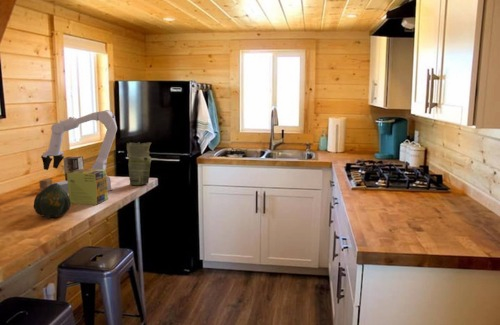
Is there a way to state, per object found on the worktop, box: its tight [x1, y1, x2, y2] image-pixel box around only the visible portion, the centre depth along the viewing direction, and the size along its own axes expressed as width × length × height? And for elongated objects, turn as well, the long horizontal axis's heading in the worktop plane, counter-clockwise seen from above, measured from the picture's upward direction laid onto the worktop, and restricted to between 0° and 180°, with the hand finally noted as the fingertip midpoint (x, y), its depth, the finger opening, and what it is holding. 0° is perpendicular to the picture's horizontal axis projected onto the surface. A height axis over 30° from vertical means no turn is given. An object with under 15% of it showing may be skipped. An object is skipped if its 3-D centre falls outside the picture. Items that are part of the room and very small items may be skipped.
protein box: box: [67, 168, 109, 206], centre depth 203 cm, size 10×15×16 cm
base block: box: [55, 180, 68, 194], centre depth 222 cm, size 7×7×6 cm
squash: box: [33, 182, 72, 220], centre depth 181 cm, size 14×15×15 cm
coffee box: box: [62, 156, 85, 181], centre depth 239 cm, size 9×6×16 cm
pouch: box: [126, 141, 152, 186], centre depth 239 cm, size 11×12×25 cm
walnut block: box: [38, 178, 53, 193], centre depth 223 cm, size 4×4×6 cm
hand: (50, 168), depth 221 cm, fingers open, 7 cm apart
